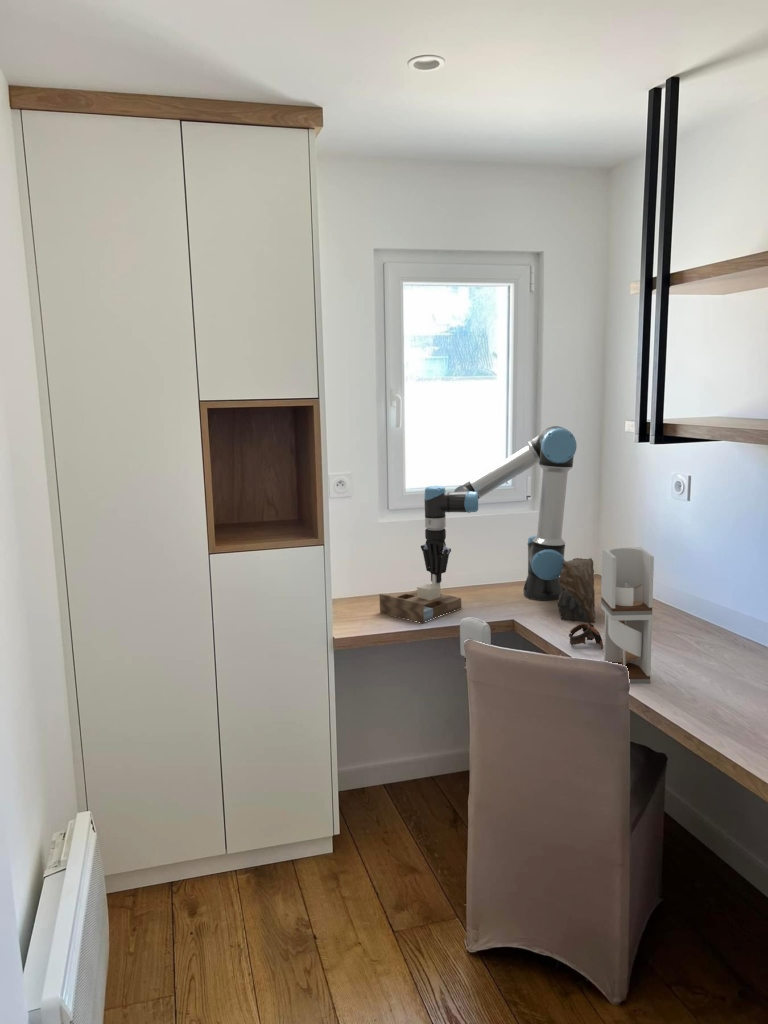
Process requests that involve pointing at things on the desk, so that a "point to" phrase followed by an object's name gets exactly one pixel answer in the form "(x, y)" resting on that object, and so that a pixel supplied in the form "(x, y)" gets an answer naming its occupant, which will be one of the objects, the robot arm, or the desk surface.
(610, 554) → the curved two-tier shelf
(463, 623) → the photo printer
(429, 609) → the trap deck
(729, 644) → the desk surface
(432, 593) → the cream block
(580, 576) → the brown rock
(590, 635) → the brown curved openwork arch
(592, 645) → the desk surface
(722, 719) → the desk surface
